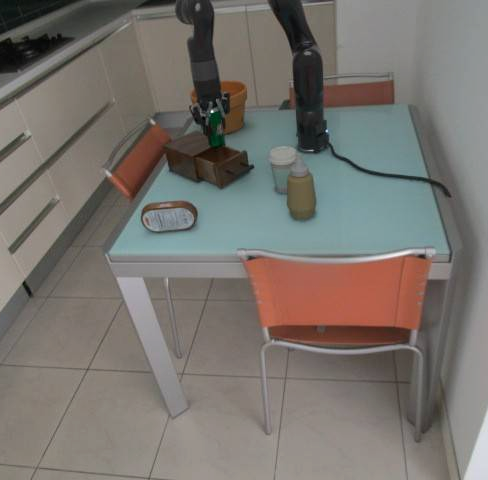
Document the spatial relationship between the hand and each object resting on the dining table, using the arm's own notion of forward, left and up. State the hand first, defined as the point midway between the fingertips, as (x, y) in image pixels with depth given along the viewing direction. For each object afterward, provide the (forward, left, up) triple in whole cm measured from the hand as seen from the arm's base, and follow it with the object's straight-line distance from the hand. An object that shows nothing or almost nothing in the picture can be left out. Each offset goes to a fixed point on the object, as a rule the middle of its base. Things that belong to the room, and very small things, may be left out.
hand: (215, 132), depth 139 cm
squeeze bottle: (-34, +2, -15) cm, 38 cm away
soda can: (0, 0, -4) cm, 4 cm away
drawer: (-2, 0, -14) cm, 14 cm away
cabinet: (+12, 0, -15) cm, 19 cm away
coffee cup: (-21, -6, -15) cm, 27 cm away
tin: (-10, +28, -15) cm, 33 cm away
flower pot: (+30, -28, -15) cm, 44 cm away
